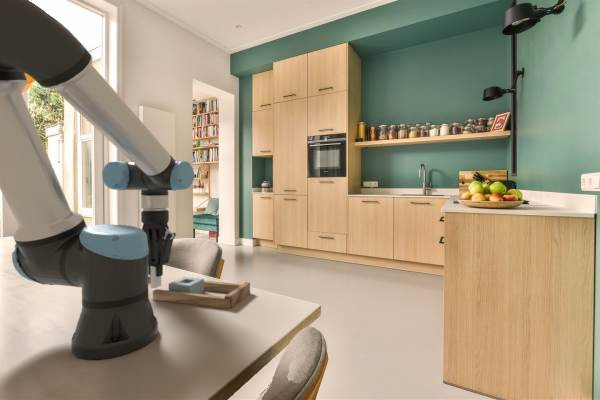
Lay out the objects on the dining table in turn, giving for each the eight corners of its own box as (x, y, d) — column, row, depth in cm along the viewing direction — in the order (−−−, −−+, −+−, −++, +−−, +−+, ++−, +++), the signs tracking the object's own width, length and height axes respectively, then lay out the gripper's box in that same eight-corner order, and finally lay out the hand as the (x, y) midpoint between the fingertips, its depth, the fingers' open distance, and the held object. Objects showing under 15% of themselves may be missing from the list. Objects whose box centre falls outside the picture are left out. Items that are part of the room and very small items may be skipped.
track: (229, 308, 78) (229, 296, 78) (153, 299, 84) (152, 288, 84) (250, 293, 90) (250, 282, 90) (181, 286, 96) (181, 276, 96)
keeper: (189, 299, 84) (189, 285, 84) (168, 297, 86) (168, 283, 86) (203, 291, 91) (203, 278, 91) (184, 289, 93) (184, 276, 93)
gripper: (181, 209, 93) (182, 284, 93) (146, 208, 96) (147, 281, 97) (164, 210, 85) (165, 292, 86) (127, 209, 89) (128, 288, 90)
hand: (156, 286), depth 91 cm, fingers closed
